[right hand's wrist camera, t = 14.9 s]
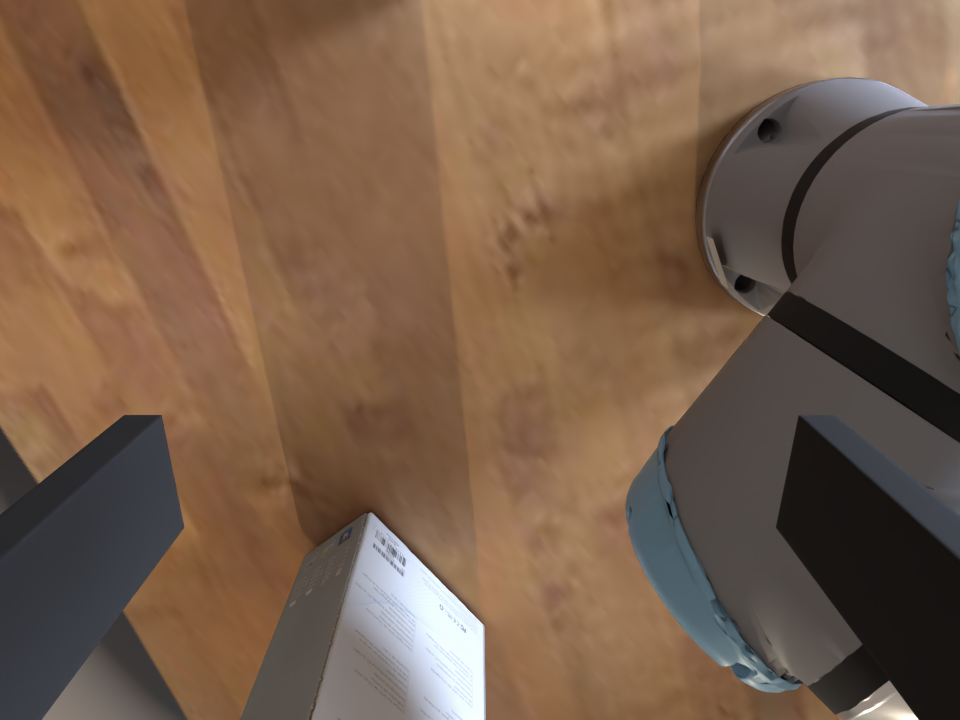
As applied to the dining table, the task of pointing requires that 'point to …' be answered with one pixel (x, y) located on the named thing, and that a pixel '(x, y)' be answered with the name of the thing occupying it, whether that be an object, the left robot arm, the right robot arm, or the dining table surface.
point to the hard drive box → (370, 639)
